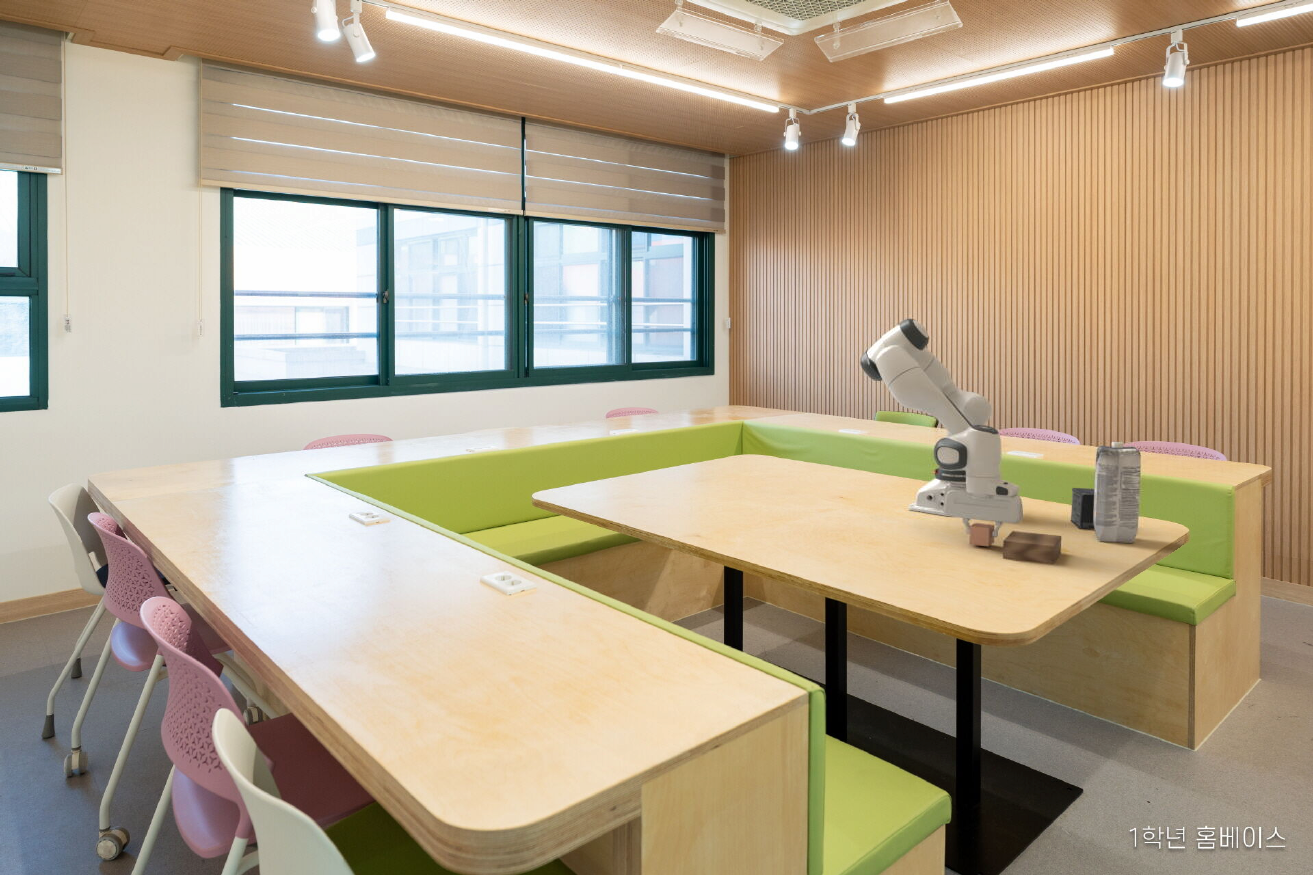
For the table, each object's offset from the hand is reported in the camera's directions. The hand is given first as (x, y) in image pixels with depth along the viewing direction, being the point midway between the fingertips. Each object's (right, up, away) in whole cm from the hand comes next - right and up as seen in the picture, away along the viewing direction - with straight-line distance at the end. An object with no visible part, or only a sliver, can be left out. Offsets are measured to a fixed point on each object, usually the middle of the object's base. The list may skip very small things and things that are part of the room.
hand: (982, 535), depth 234 cm
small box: (+39, 0, +20) cm, 44 cm away
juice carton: (+38, -2, +3) cm, 38 cm away
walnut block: (+9, -4, -11) cm, 15 cm away
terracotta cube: (0, -2, 0) cm, 2 cm away
